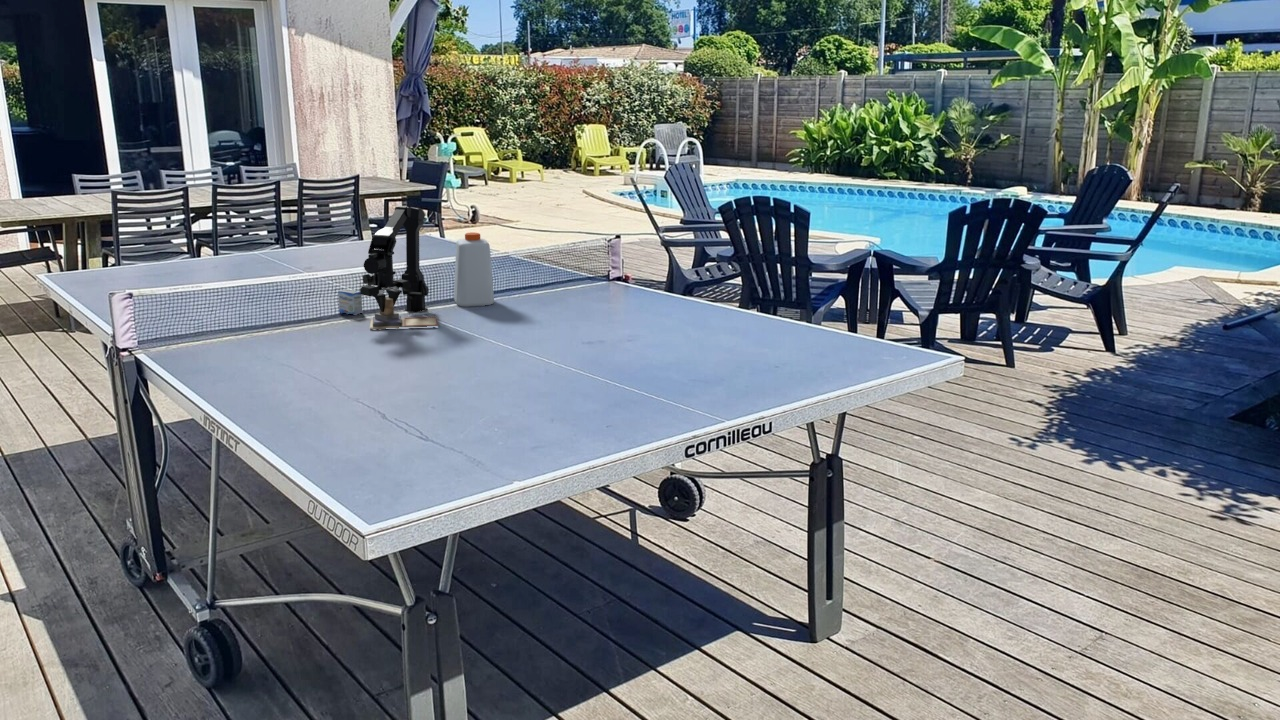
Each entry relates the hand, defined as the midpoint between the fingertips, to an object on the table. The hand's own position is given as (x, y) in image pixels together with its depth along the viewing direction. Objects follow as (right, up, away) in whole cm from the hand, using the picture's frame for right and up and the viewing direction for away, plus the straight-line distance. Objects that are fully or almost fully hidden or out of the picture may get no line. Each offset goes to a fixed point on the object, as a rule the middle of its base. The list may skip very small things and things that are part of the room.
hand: (386, 310), depth 365 cm
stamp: (0, -3, +1) cm, 3 cm away
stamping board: (+6, -5, +3) cm, 8 cm away
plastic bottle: (+25, +5, +39) cm, 47 cm away
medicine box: (-18, 0, +17) cm, 25 cm away
